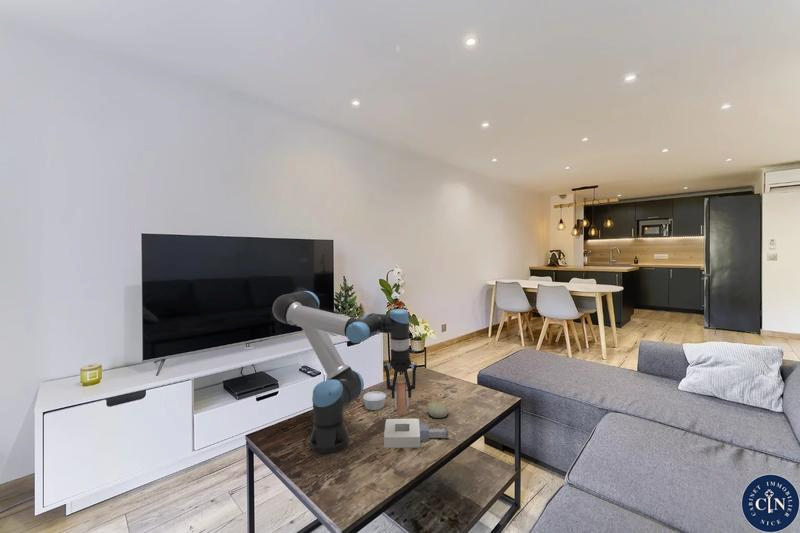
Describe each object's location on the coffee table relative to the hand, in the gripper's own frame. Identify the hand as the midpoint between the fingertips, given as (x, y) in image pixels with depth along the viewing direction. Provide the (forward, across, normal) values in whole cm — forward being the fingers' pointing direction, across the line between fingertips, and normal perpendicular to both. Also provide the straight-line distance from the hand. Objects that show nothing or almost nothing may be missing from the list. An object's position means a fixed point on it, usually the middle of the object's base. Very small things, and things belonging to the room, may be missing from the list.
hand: (401, 405), depth 137 cm
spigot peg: (+3, 0, 0) cm, 3 cm away
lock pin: (+13, +13, 0) cm, 18 cm away
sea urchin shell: (+14, +16, +19) cm, 28 cm away
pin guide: (+13, +9, 0) cm, 16 cm away
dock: (+13, 0, 0) cm, 13 cm away
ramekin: (+14, -14, +28) cm, 34 cm away
